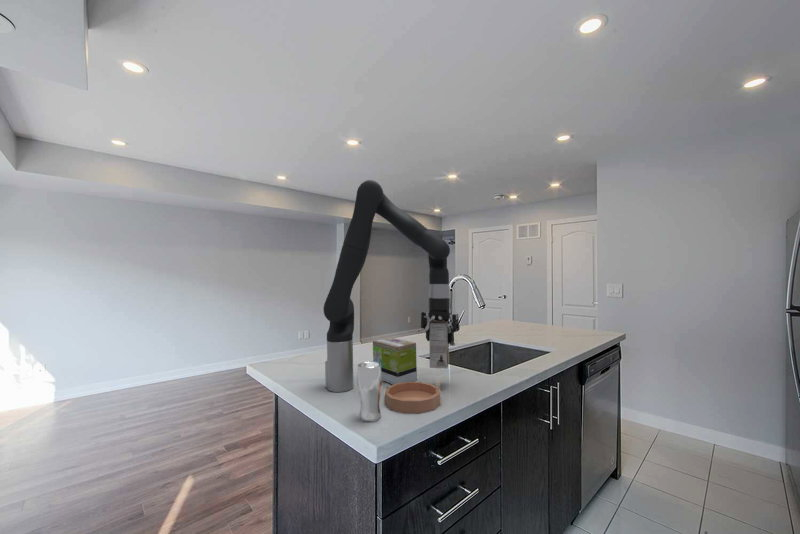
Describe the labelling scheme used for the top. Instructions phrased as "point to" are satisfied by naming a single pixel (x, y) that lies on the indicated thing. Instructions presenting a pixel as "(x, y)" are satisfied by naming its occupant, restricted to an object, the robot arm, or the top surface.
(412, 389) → the terracotta dish
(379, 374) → the beer glass
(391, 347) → the tea box
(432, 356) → the coffee box
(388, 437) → the top surface
